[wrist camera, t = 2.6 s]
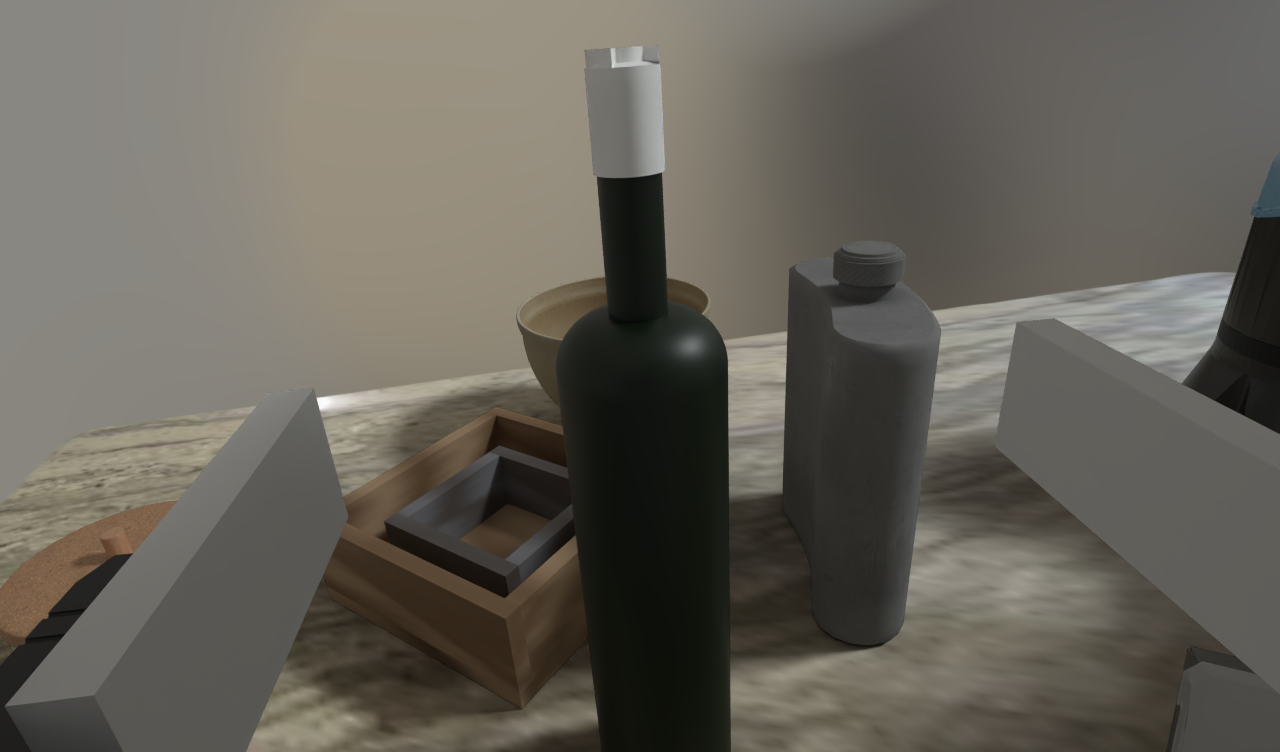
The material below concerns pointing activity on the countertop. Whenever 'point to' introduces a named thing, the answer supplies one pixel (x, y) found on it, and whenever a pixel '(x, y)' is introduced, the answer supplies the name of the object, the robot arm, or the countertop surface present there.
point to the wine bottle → (647, 448)
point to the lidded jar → (70, 567)
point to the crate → (471, 554)
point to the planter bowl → (566, 304)
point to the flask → (857, 432)
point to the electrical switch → (1223, 707)
